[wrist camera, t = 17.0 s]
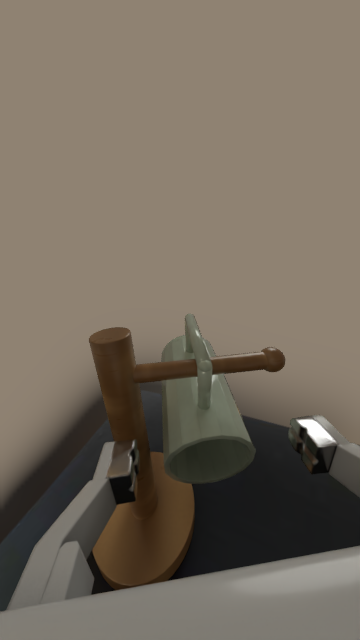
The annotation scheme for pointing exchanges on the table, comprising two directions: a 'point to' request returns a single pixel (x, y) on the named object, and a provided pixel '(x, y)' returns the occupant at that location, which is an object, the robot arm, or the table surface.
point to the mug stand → (150, 463)
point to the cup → (201, 417)
